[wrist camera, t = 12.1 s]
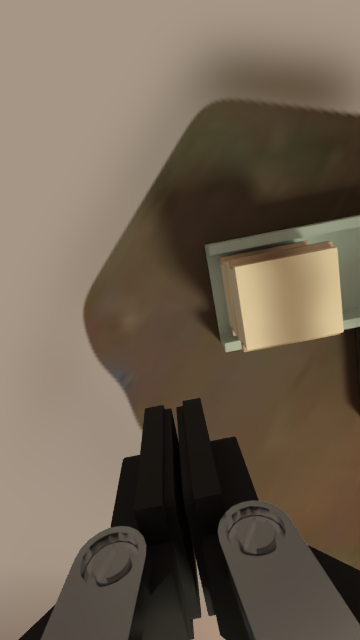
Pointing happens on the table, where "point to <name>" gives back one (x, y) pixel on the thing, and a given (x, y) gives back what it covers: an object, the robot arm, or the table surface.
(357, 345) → the grey square frame
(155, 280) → the table surface
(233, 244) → the bay
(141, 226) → the table surface
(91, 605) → the robot arm
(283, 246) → the crate
